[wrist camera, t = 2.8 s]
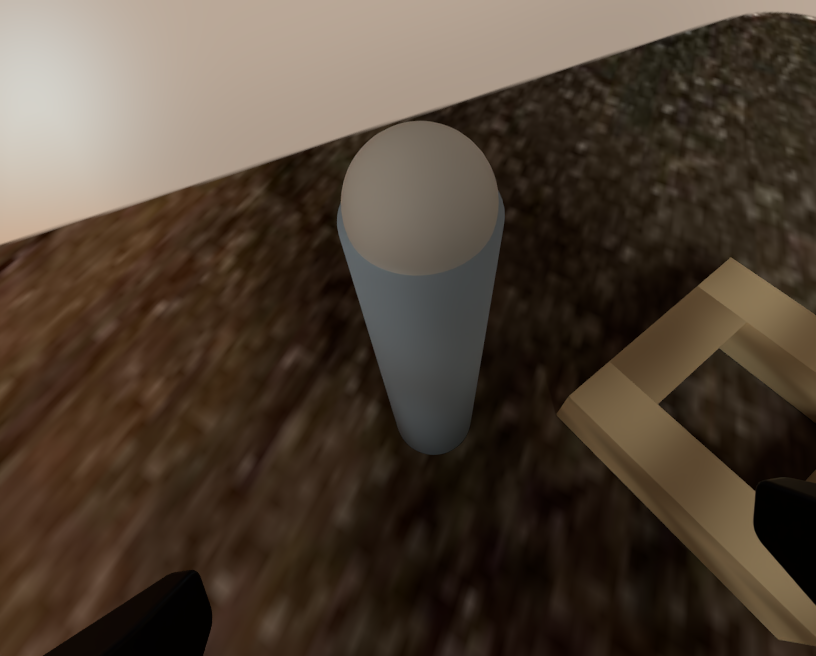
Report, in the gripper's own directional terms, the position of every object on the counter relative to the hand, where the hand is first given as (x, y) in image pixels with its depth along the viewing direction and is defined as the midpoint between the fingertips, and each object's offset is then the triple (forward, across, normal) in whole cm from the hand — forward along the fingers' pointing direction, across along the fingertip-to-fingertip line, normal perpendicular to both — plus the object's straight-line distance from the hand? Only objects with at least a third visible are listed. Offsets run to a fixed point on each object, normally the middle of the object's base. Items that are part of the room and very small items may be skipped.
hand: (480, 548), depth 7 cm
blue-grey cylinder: (+14, 0, -5) cm, 15 cm away
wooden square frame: (+12, +13, -7) cm, 19 cm away
